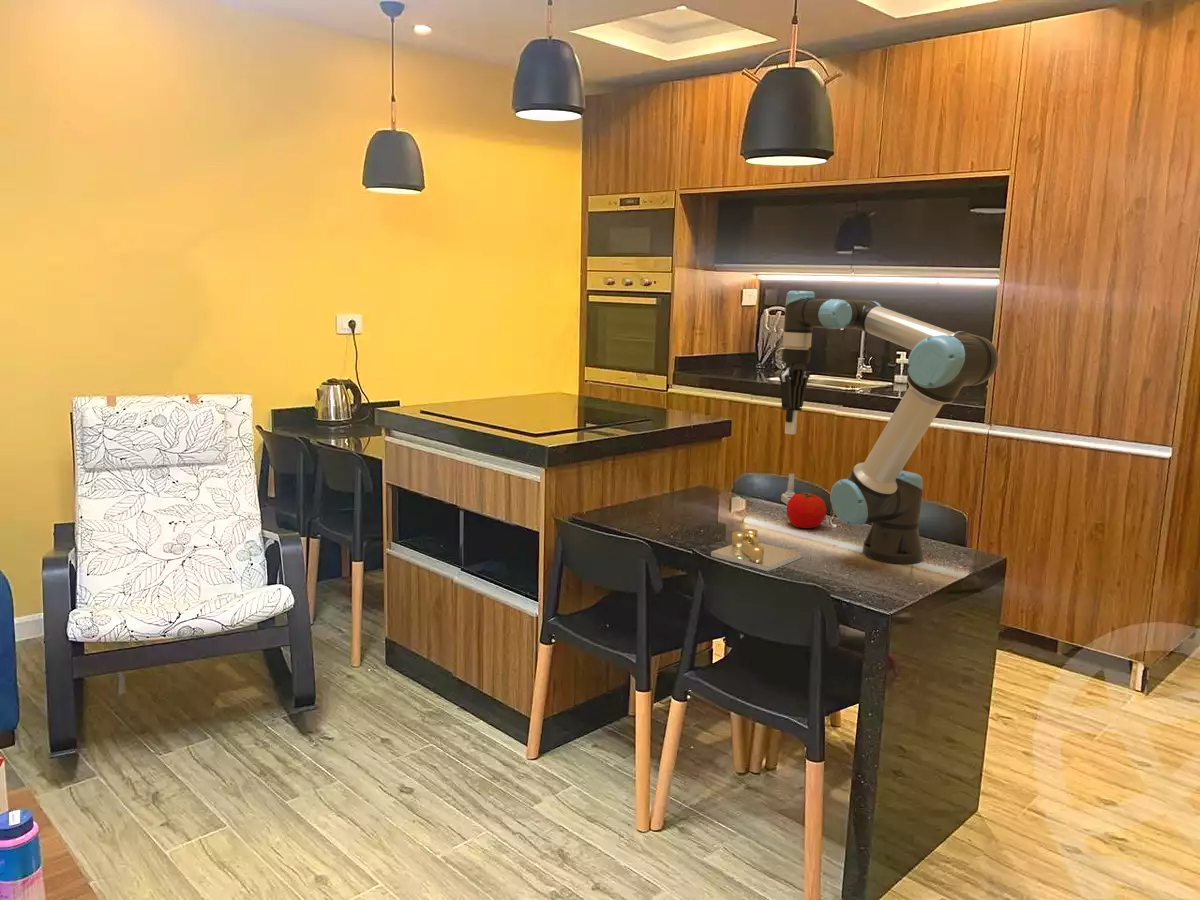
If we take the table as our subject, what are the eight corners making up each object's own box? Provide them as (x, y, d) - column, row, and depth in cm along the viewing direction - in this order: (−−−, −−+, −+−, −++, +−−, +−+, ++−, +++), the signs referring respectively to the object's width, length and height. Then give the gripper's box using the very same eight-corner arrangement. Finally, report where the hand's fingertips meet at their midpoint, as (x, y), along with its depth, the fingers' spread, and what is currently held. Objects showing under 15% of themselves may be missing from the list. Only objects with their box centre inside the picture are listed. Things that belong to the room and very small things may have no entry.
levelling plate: (802, 557, 232) (803, 541, 231) (767, 571, 219) (768, 554, 218) (745, 543, 243) (746, 527, 242) (709, 556, 230) (710, 539, 230)
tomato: (794, 519, 272) (796, 486, 270) (830, 526, 265) (833, 492, 263) (778, 527, 262) (780, 493, 260) (815, 534, 255) (818, 499, 254)
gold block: (742, 540, 241) (742, 528, 240) (755, 540, 241) (756, 529, 241) (748, 551, 231) (749, 539, 230) (762, 551, 231) (763, 539, 230)
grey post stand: (800, 483, 280) (781, 472, 294) (797, 513, 282) (778, 500, 296) (816, 483, 281) (796, 472, 295) (812, 513, 283) (793, 500, 297)
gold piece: (765, 562, 222) (766, 549, 221) (751, 562, 221) (752, 550, 220) (749, 550, 232) (750, 538, 231) (736, 550, 231) (737, 538, 230)
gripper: (796, 346, 250) (789, 429, 254) (772, 347, 240) (766, 434, 245) (820, 348, 245) (813, 433, 249) (797, 349, 236) (790, 437, 240)
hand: (790, 433), depth 247 cm, fingers closed
